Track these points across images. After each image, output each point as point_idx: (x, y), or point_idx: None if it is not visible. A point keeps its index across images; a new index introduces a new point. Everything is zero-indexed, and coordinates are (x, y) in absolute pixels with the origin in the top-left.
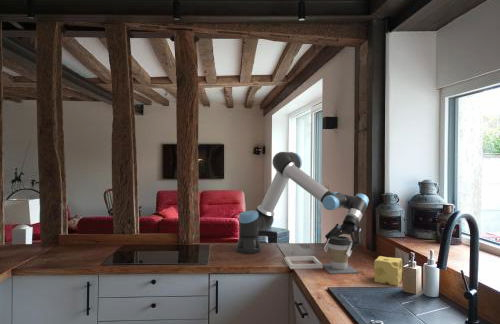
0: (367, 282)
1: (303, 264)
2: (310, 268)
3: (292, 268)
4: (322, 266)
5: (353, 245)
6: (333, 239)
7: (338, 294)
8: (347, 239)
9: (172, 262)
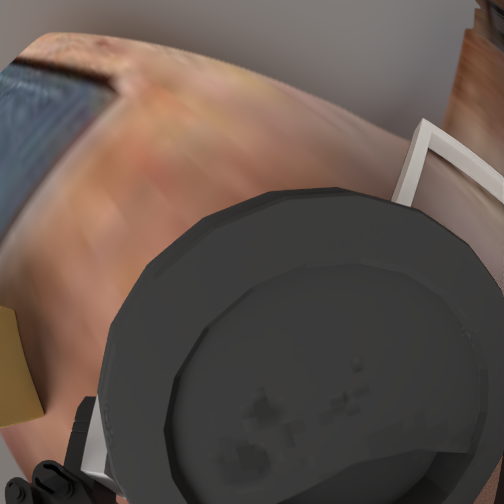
0: (29, 276)
1: (412, 168)
2: None
3: (413, 135)
4: None
5: (77, 448)
6: (335, 195)
7: (64, 89)
8: (109, 453)
9: (500, 29)
